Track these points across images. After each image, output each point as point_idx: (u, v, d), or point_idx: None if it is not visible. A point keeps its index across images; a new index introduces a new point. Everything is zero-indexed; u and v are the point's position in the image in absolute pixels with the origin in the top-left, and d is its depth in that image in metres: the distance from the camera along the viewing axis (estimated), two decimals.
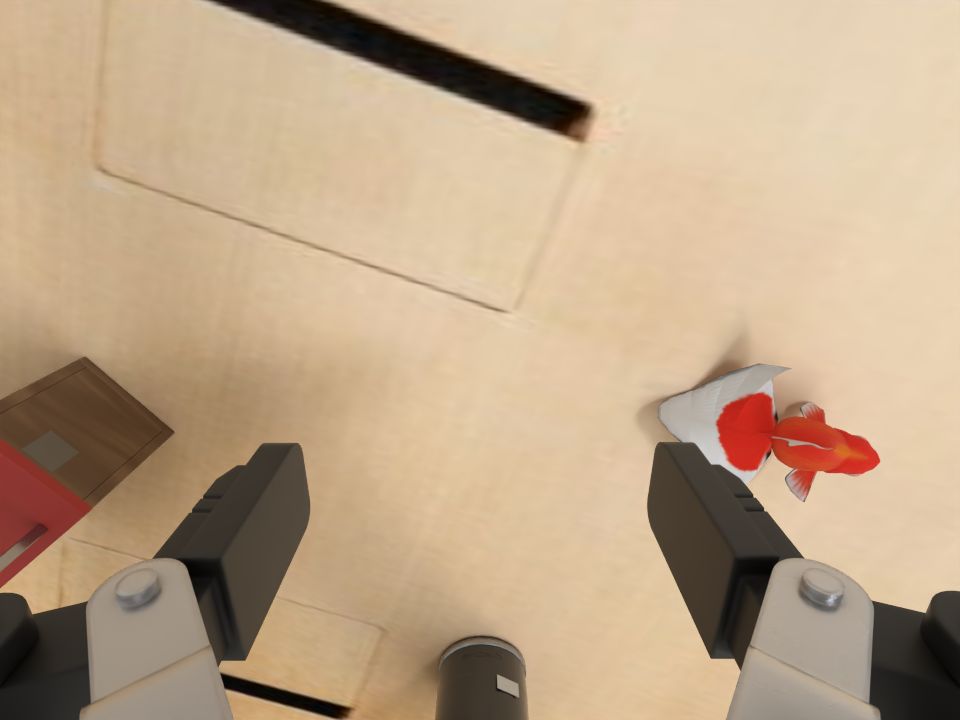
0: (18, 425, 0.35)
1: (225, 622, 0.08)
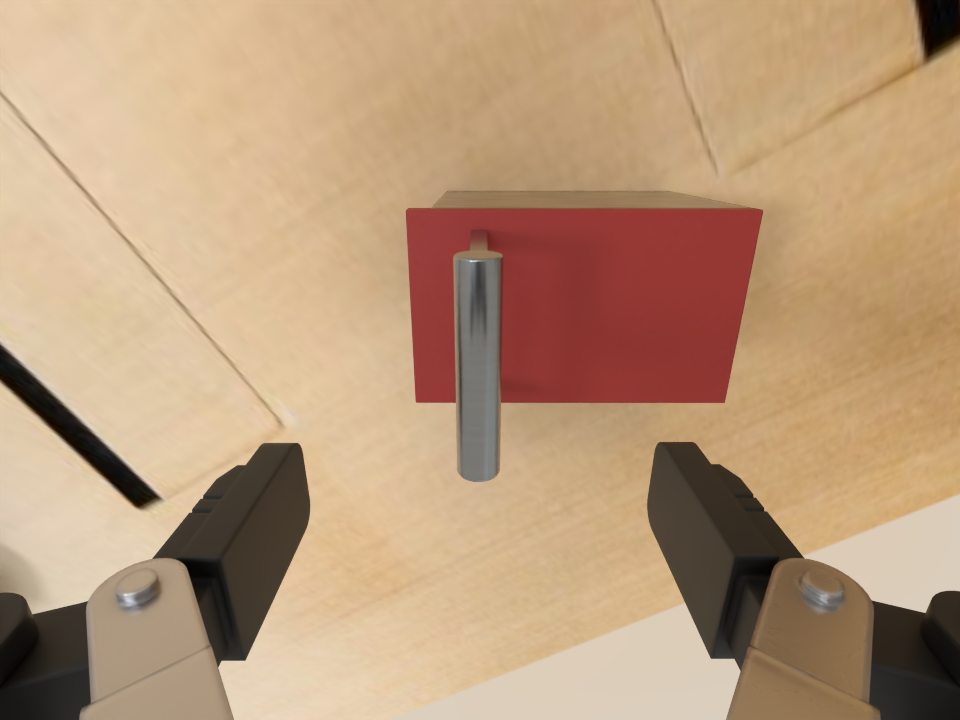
0: None
1: (225, 622, 0.08)
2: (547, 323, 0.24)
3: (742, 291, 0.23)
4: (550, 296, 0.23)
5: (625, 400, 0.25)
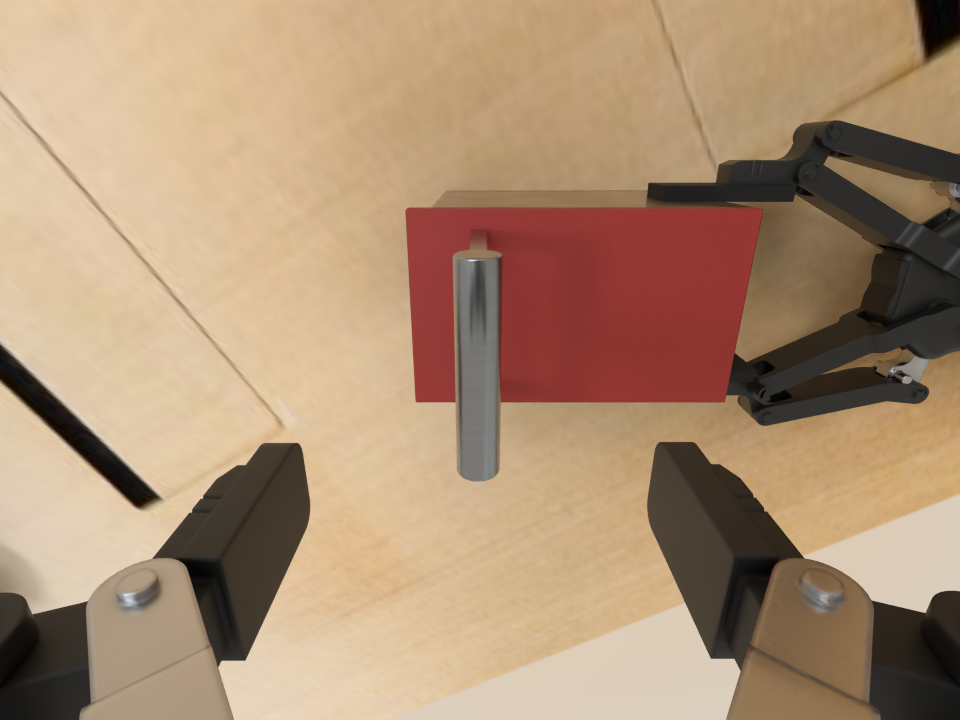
0: None
1: (225, 622, 0.08)
2: (547, 323, 0.24)
3: (742, 291, 0.23)
4: (550, 296, 0.23)
5: (625, 400, 0.25)
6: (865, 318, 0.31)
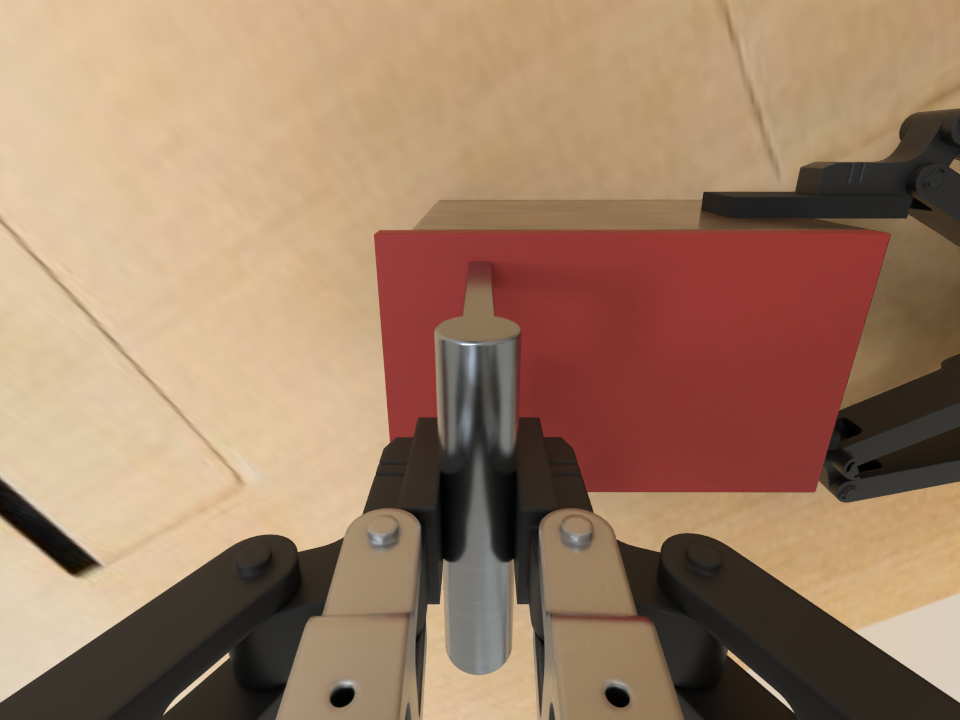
0: None
1: (428, 568, 0.09)
2: (575, 389, 0.17)
3: (851, 346, 0.16)
4: (580, 353, 0.17)
5: (679, 489, 0.19)
6: None
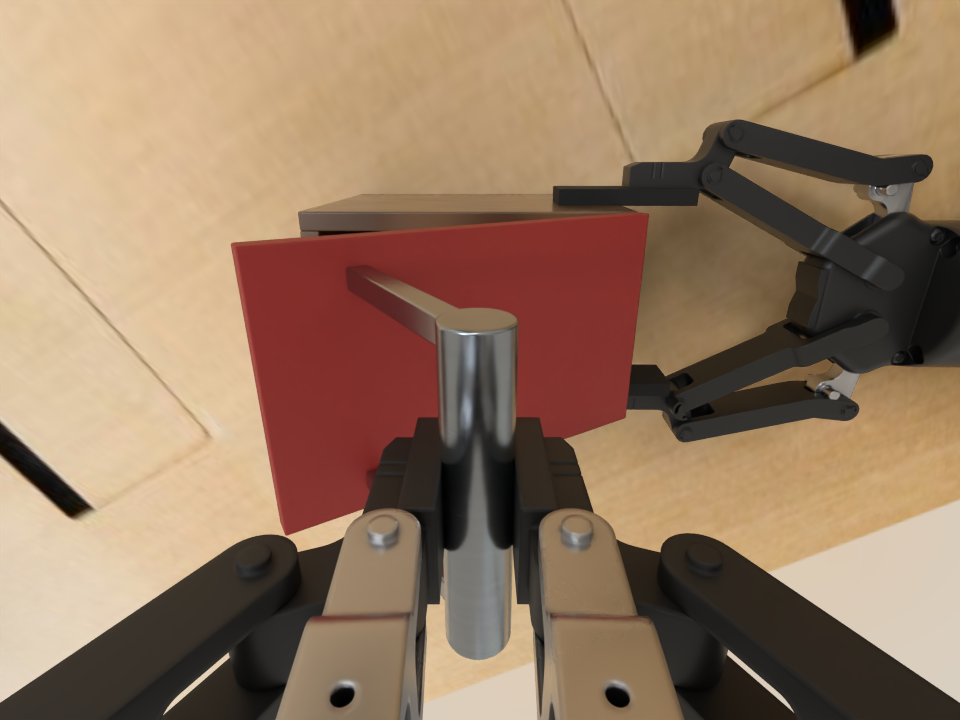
0: None
1: (428, 568, 0.09)
2: None
3: (636, 301, 0.22)
4: None
5: None
6: (793, 329, 0.29)
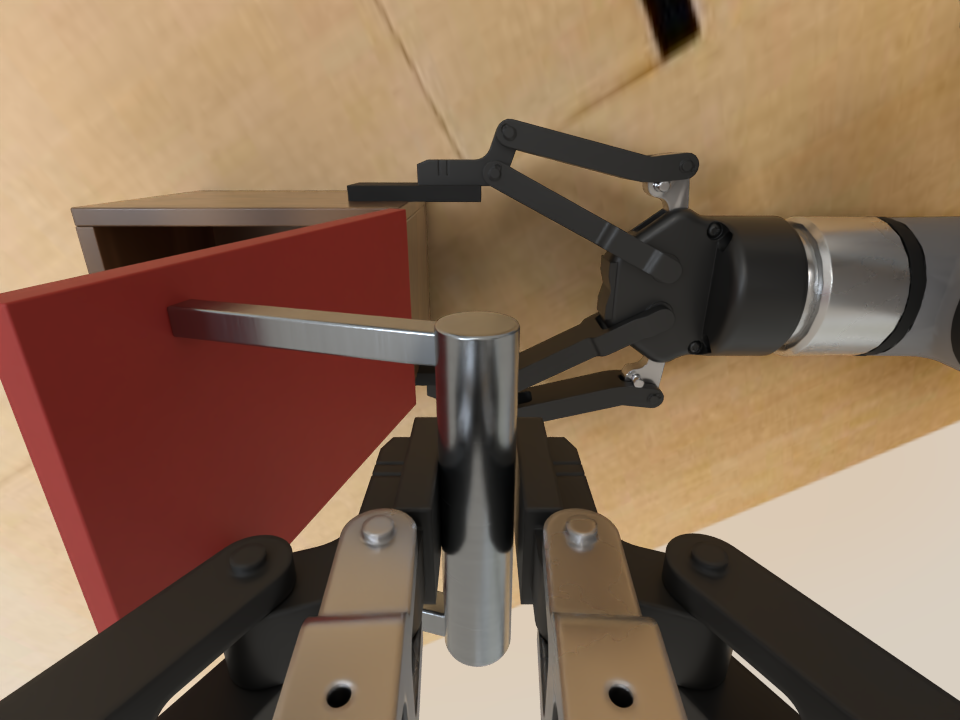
0: None
1: (423, 568, 0.09)
2: (294, 411, 0.16)
3: (408, 292, 0.23)
4: (289, 371, 0.15)
5: (368, 454, 0.21)
6: None
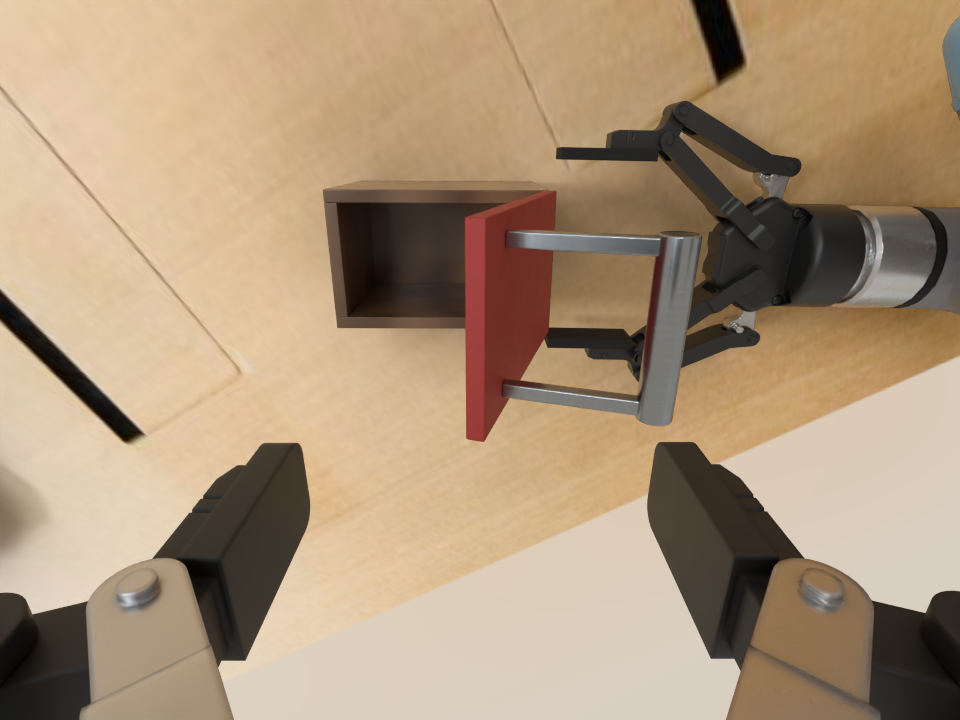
0: None
1: (224, 622, 0.08)
2: (521, 308, 0.26)
3: None
4: (522, 283, 0.25)
5: (533, 354, 0.31)
6: (710, 287, 0.40)
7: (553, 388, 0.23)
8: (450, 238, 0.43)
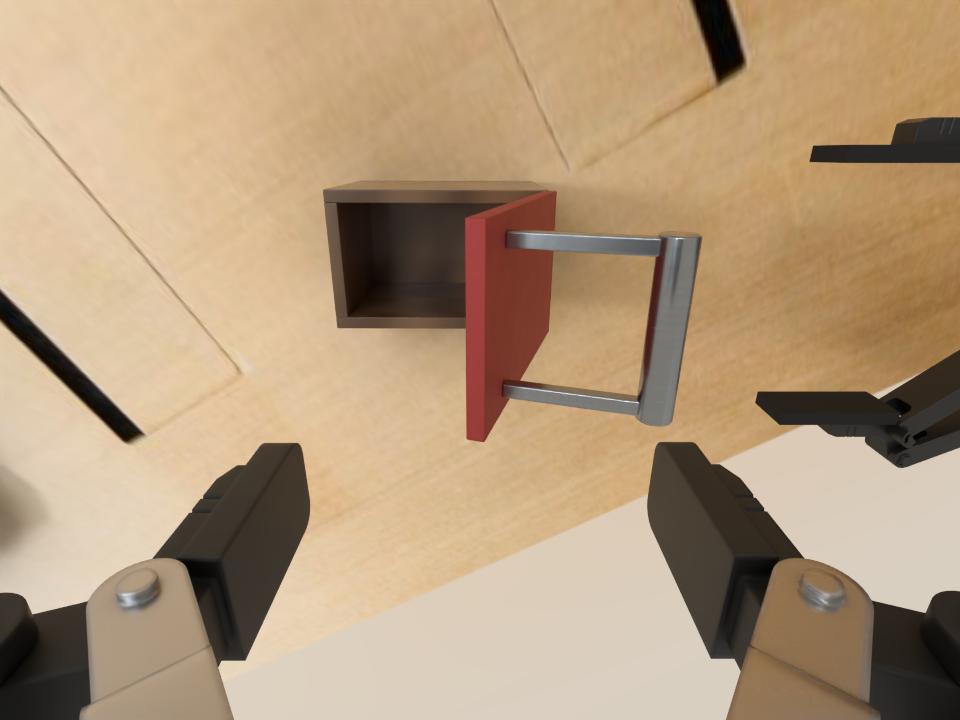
0: None
1: (224, 622, 0.08)
2: (521, 308, 0.26)
3: None
4: (522, 283, 0.25)
5: (534, 354, 0.31)
6: None
7: (553, 389, 0.23)
8: (450, 238, 0.43)
